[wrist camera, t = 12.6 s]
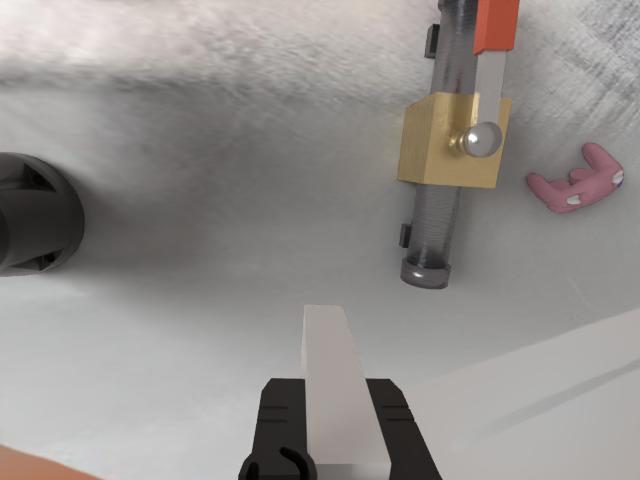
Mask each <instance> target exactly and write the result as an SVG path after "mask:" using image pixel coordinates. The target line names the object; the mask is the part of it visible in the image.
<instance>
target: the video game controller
mask: <svg viewBox="0 0 640 480" xmlns="http://www.w3.org/2000/svg"><path fill="white" fill-rule="evenodd" d="M583 155H584V157H585V159H586V161H587V162H588V164H589V165H590V166H591V168H592V169H584V168H578V169H574V170H573V171H571V172H570V175H569V182H570V183H571V184H573V185H572V186H570V184H569V183H568V182H567V181H565V180H554V181H552V182H550V183H548V182H547V181H546V180H545V179H544V178H543V177H541V176H539V175H538V174H534V173H531V174H529V175H528V176H527V182H528V185H529V187H530V188H531V190H532V191H533V193H534V194H535V195H536V196H537V197H538V198H540V199H541V200H542V201H543V202H544V203H545V204H546V205H547V207H548V208H549V209H550V210H552V211H554V212H559V213H564V212H570V211H573V210H575V209H576V208H579V207H583V206H586V205H589V204H592V203H594V202H597V201H599V200H601V199H603V198H604V197H606V196H608V195H609V194H610V193H612V192H613V191H614V190H615V189H616V188H618V187H619V186H620V185H621V184H622V181H623V177H624V172H623V169H622V166H621V165H620V164H619V163H618V162H617V161H616V160H615V159H614V158H613V157H612V156H611V155H609V154H608V153H607V152H606V151H605V150H604V149H603V148H602V147H601V146H600V145H597V144H595V143H586V144H585V145H584V146H583Z"/></svg>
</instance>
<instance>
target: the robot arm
mask: <svg viewBox="0 0 640 480" xmlns="http://www.w3.org/2000/svg"><path fill="white" fill-rule="evenodd" d="M83 232H84V215H83V210H82V207H81V204H80V201H79V199H78V197H77V195H76V193H75V191H74V190H73V188H72V187H71V185H70V184H69V183H68V182H67V181H66V179H65V178H64V177H63V176H62V175H61V174H60V173H58V172H57V171H56V170H55V169H53V168H52V167H51V166H49V165H47V164H46V163H44V162H42V161H40V160H38V159H36V158H33V157H30V156H27V155H24V154H19V153H11V152H0V277H9V276H25V275H32V274H36V273H40V272H43V271H45V270H48V269H50V268H53V267H55V266H57V265H59V264H61V263H63V262H64V261H66V260H67V259H68V258H70V257H71V256H72V255H73V253H74V252H75V251H76V249H77V248H78V246H79V244H80V242H81V240H82V236H83ZM238 480H442V478H441V476H440V474H439V472H438V470H437V468H436V466H435V463H434V461H433V459H432V457H431V455H430V452H429V450H428V448H427V446H426V444H425V442H424V439H423V437H422V435H421V433H420V431H419V428H418V426H417V424H416V422H414V417H413V415H412V413H411V410H410V409H409V406H408V404H407V402H406V399H405V397H404V395H403V393H402V391H401V390H400V389H399V388H398V387H397V386H396V385H395V384H394V383H393V382H392V381H391V380H390V379H365V377H364V373H363V370H362V367H361V364H360V360H359V357H358V354H357V351H356V348H355V344H354V341H353V338H352V335H351V331H350V328H349V325H348V322H347V318H346V315H345V312H344V309H343V306H334V305H305V304H304V320H303V336H302V352H301V379H283V378H271V379H270V381H269V382H268V383H267V385H266V386H265V387H264V389H263V390H262V393H261V399H260V405H259V411H258V418H257V424H256V430H255V436H254V442H253V448H252V453H251V454H250V455H249V456H248V457H247V458H246V460H245V461H244V463H243V465H242V468H241V470H240V473H239V475H238Z"/></svg>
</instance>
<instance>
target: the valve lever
mask: <svg viewBox="0 0 640 480" xmlns="http://www.w3.org/2000/svg"><path fill="white" fill-rule="evenodd" d="M519 1H520V0H479V1H478V11H477V20H476V30H475V40H474V49H473V55H478V63H477V72H476V81H475V91H474V100H473V109H472V118H471V127H469V128H468V129H467V131H466V132H465V134H464V136H463V142H462V143H463V148H464V151H465V152H466V153H467V154H468V155H469V156H471V157H474V158H483V157H489V156H491V155H493V154H494V153H496V152H497V151H498V149H499V148H500V146H501V143H502V132H501V129H500V128H499V126H498V125H497V124H498V116H499V108H500V100H501V92H502V84H503V77H504V69H505V61H506V53H507V52H508V51H510V50H512V49H513V46H514V39H515V31H516V24H517V16H518V8H519Z"/></svg>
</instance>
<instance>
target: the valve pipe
mask: <svg viewBox="0 0 640 480" xmlns="http://www.w3.org/2000/svg"><path fill="white" fill-rule="evenodd" d="M478 1H479V0H439V1H438V8H439V10H440V11H442V13H441V20H440V25H439V24H433V25H432V26H431V27H430V28H429V29H428V34H427V41H426V49H425V56H424V57H431V58H435V63H434V70H433V77H432V84H431V91H430V95H429V96H428V97H426V98H424V99H422V100H420V101H418V102H416V103H414V104H412V105H411V106H409V107H407V108H406V112H405V120H404V128H403V136H402V144H401V152H400V160H399V168H398V176H397V180H403V181H410V182H416V183H417V190H416V197H415V204H414V211H413V218H412V225H411V224H402V228H401V235H400V243H399V245H400V246H401V247H403V248H408V254H407V257H405V258H404V259H403V261H402V269H401V276H400V278H401V279H402V280H403V281H404V282H406V283H408V284H410V285H413V286H416V287H420V288H425V289H443V288H446V287H447V286H448V281H449V276H450V270H451V266H450V265H449V264H447V262H448V257H449V251H450V245H451V239H452V234H453V228H454V222H455V216H456V211H457V205H458V199H459V193H460V188H461V186H466V187H480V188H495V186H496V181H497V176H498V171H499V166H500V161H501V156H502V151H503V146H504V141H505V136H506V131H507V126H508V121H509V116H510V111H511V106H512V101H513V99H509V98H501V100H500V108H499V116H498V124H497V125H498V126H499V128H500V129H501V132H502V143H501V146H500V148H499V149H498V151H497V152H496V153H494V154H493V155H491V156H489V157H483V158H474V157H471V156H469V155H468V154H467V153H466V152H465V151H464V148H463V143H462V142H463V136H464V134H465V132H466V131H467V129H468V128H469V127H471V118H472V109H473V100H474V91H475V81H476V72H477V63H478V55H473V49H474V40H475V30H476V20H477V11H478Z"/></svg>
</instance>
